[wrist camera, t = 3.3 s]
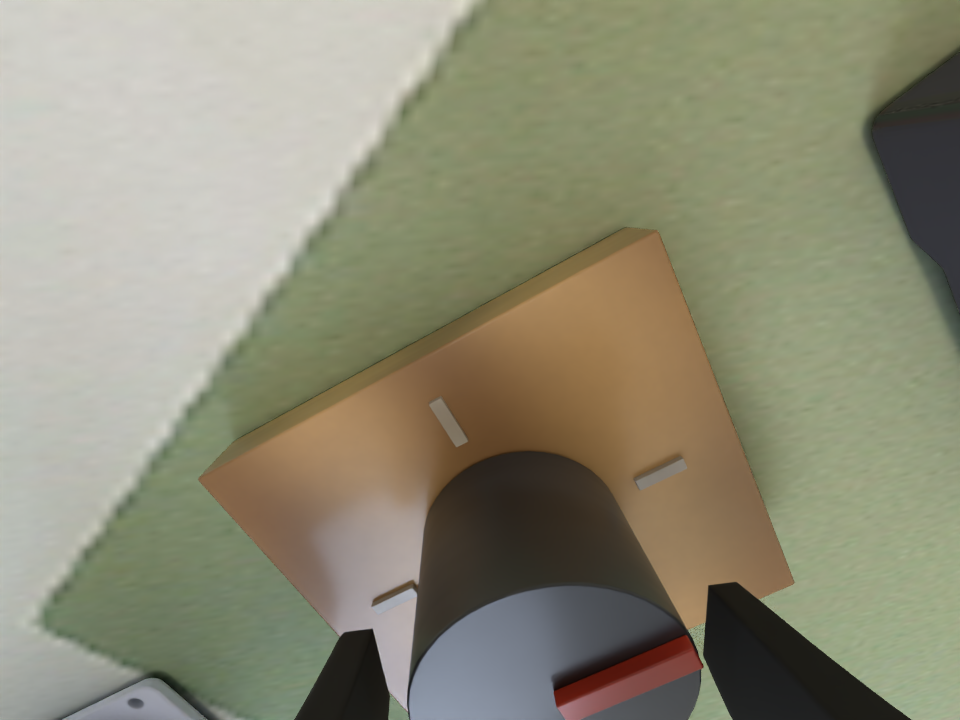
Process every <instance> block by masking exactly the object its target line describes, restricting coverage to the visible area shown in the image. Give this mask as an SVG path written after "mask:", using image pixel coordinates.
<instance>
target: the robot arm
mask: <svg viewBox="0 0 960 720" xmlns="http://www.w3.org/2000/svg"><path fill="white" fill-rule="evenodd" d="M703 656H704V658H705V660H706V663H707V665H708V667H709V670H710V672H711V674H712V676H713V679H714V681H715V683H716V686H717V688H718V690H719V692H720V694H721V696H722V699H723V701H724V703H725V705H726V707H727V709H728V712H729V713H730V715H731V717H732V719H733V720H911V719H910V718H908V717H907V716H906V715H904V714H903V713H902V712H900V711H899V710H897V709H896V708H895V707H893V706H892V705H891V704H889V703H888V702H887V701H885V700H884V699H883V698H881V697H880V696H879V695H877V694H876V693H875V692H873V691H872V690H871V689H869V688H868V687H867V686H866V685H864V684H863V683H862V682H860V681H859V680H858V679H857V678H855V677H854V676H853V675H851V674H850V673H849V672H848V671H846V670H845V669H844V668H842V667H841V666H840V665H839V664H837V663H836V662H835V661H833V660H832V659H831V658H830V657H828V656H827V655H826V654H825V653H823V652H822V651H821V650H820V649H818V648H817V647H816V646H815V645H813V644H812V643H811V642H810V641H808V640H807V639H806V638H805V637H803V636H802V635H801V634H800V633H799V632H797V631H796V630H795V629H794V628H792V627H791V626H790V625H789V624H788V623H786V622H785V621H784V620H783V619H781V618H780V617H779V616H778V615H777V614H775V613H774V612H773V611H772V610H770V609H769V608H768V607H767V606H766V605H764V604H763V603H762V602H761V601H760V600H758V599H757V598H756V597H755V596H753V595H752V594H751V593H750V592H749V591H747V590H746V589H745V588H744V587H742V586H741V585H740V584H739V583H737V582H730V583H722V584H714V585H708V596H707V609H706V623H705V637H704V651H703ZM389 700H390V695H389V691H388V687H387V683H386V679H385V675H384V671H383V667H382V663H381V659H380V655H379V651H378V647H377V643H376V639H375V635H374V631H373V628H372V629H365V630H357V631H349V632H344V633H343V634H342V635H341V636H340V638H339V640H338V642H337V644H336V645H335V647H334V649H333V651H332V653H331V655H330V657H329V659H328V660H327V662H326V664H325V666H324V668H323V670H322V672H321V673H320V675H319V677H318V679H317V681H316V683H315V684H314V686H313V688H312V690H311V691H310V693H309V695H308V697H307V699H306V700H305V702H304V704H303V706H302V707H301V709H300V711H299V713H298V714H297V716H296V718H295V719H294V720H388V715H389ZM62 720H207V719H206V718H205V717H204V716H203V715H202V714H200V713H199V712H198V711H197V710H196V709H195V708H194V707H192V706H191V705H190V704H189V703H188V702H187V701H186V700H184V699H183V698H182V697H181V696H180V695H179V694H178V693H176V692H175V691H174V690H173V689H172V688H171V687H169V686H168V685H167V684H166V683H165V682H164V681H162V680H160V679H157V678H148V679H144V680H142V681H140V682H138V683H136V684H134V685H132V686H130V687H128V688H126V689H123V690H121V691H119V692H117V693H115V694H113V695H111V696H109V697H107V698H105V699H103V700H101V701H99V702H97V703H95V704H93V705H91V706H89V707H87V708H85V709H82V710H80V711H78V712H76V713H74V714H72V715H70V716H68V717H66V718H64V719H62Z"/></svg>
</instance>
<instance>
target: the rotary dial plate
mask: <svg viewBox="0 0 960 720" xmlns="http://www.w3.org/2000/svg"><path fill="white" fill-rule="evenodd" d="M524 451H534V452H546V453H551V454H556V455H560V456H563V457H566V458H569V459H571V460H573V461H576V462H578V463H580V464H582V465H583V466H585V467H587V468H588V469H590V470H591V471H592V472H594V473H595V474H596V475H597V476H598V477H599V478H601V480H602V481H603V482H604V483H605V484H606V485H607V486H608V488H609V490H610V491H611V493H612V494H613V496H614V498H615V499H616V501H617V503H618V505H619V507H620V509H621V510H622V512H623V514H624V516H625V518H626V519H627V521H628V523H629V525H630V527H631V528H632V530H633V532H634V534H635V536H636V537H637V539H638V541H639V543H640V545H641V547H642V548H643V550H644V552H645V554H646V556H647V557H648V559H649V561H650V563H651V565H652V566H653V568H654V570H655V572H656V574H657V575H658V577H659V579H660V581H661V583H662V585H663V586H664V588H665V590H666V592H667V594H668V595H669V597H670V599H671V601H672V603H673V604H674V606H675V608H676V610H677V612H678V613H679V615H680V617H681V619H682V621H683V623H684V624H685V626H686V628H687V630H689V629H691V628H693V627H695V626H698V625H700V624H702V623H705V622H706V609H707V596H708V585H714V584H722V583H730V582H737V583H739V584H740V585H741V586H742V587H744V588H745V589H746V590H747V591H749V592H750V593H751V594H752V595H753V596H755V597H756V598H757V599H761V598H763V597H765V596H768V595H770V594H772V593H775V592H777V591H779V590H781V589H784V588H786V587H788V586H791V585H793V584H794V583H795V582H794V580H793V577H792V575H791V572H790V569H789V567H788V564H787V562H786V559H785V556H784V554H783V551H782V549H781V546H780V544H779V541H778V538H777V536H776V533H775V531H774V528H773V525H772V523H771V520H770V518H769V515H768V513H767V510H766V507H765V505H764V502H763V500H762V497H761V495H760V492H759V489H758V487H757V484H756V482H755V479H754V476H753V474H752V471H751V469H750V466H749V464H748V461H747V458H746V456H745V453H744V451H743V448H742V446H741V443H740V440H739V438H738V435H737V433H736V430H735V427H734V425H733V422H732V420H731V417H730V415H729V412H728V409H727V407H726V404H725V402H724V399H723V397H722V394H721V391H720V389H719V386H718V384H717V381H716V378H715V376H714V373H713V371H712V368H711V366H710V363H709V360H708V358H707V355H706V353H705V350H704V348H703V345H702V342H701V340H700V337H699V335H698V332H697V329H696V327H695V324H694V322H693V319H692V317H691V314H690V311H689V309H688V306H687V304H686V301H685V299H684V296H683V293H682V291H681V288H680V286H679V283H678V280H677V278H676V275H675V273H674V270H673V268H672V265H671V262H670V260H669V257H668V255H667V252H666V250H665V247H664V244H663V242H662V239H661V237H660V234H659V232H658V231H657V230H650V229H640V228H629V227H626V228H623V229H622V230H620V231H618V232H616V233H614V234H612V235H611V236H609V237H607V238H605V239H603V240H601V241H600V242H598V243H596V244H594V245H592V246H591V247H589V248H587V249H585V250H583V251H581V252H580V253H578V254H576V255H574V256H572V257H570V258H569V259H567V260H565V261H563V262H561V263H559V264H558V265H556V266H554V267H552V268H550V269H548V270H547V271H545V272H543V273H541V274H539V275H537V276H536V277H534V278H532V279H530V280H528V281H526V282H525V283H523V284H521V285H519V286H517V287H515V288H514V289H512V290H510V291H508V292H506V293H504V294H503V295H501V296H499V297H497V298H495V299H493V300H492V301H490V302H488V303H486V304H484V305H483V306H481V307H479V308H477V309H475V310H473V311H472V312H470V313H468V314H466V315H464V316H462V317H461V318H459V319H457V320H455V321H453V322H451V323H450V324H448V325H446V326H444V327H442V328H440V329H439V330H437V331H435V332H433V333H431V334H429V335H428V336H426V337H424V338H422V339H420V340H418V341H417V342H415V343H413V344H411V345H409V346H407V347H406V348H404V349H402V350H400V351H398V352H396V353H395V354H393V355H391V356H389V357H387V358H385V359H384V360H382V361H380V362H378V363H376V364H374V365H373V366H371V367H369V368H367V369H365V370H364V371H362V372H360V373H358V374H356V375H354V376H353V377H351V378H349V379H347V380H345V381H343V382H342V383H340V384H338V385H336V386H334V387H332V388H331V389H329V390H327V391H325V392H323V393H321V394H320V395H318V396H316V397H314V398H312V399H310V400H309V401H307V402H305V403H303V404H301V405H299V406H298V407H296V408H294V409H292V410H290V411H288V412H287V413H285V414H283V415H281V416H279V417H277V418H276V419H274V420H272V421H270V422H268V423H266V424H265V425H263V426H261V427H259V428H257V429H256V430H254V431H252V432H250V433H248V434H246V435H245V436H243V437H241V438H239V439H237V440H235V441H234V442H233V443H232V444H231V445H230V446H229V447H228V448H227V449H226V450H225V451H224V452H223V453H222V454H221V455H220V456H219V457H218V458H217V459H216V460H215V461H214V462H213V463H212V464H211V465H210V466H209V467H208V468H207V469H206V471H205V472H204V473H203V474H202V475H201V476H200V477H199V478H198V480H199V482H200V483H201V484H202V485H203V486H204V487H205V488H206V489H207V490H208V492H209V493H210V494H211V495H212V496H213V497H214V498H215V499H216V500H217V502H218V503H219V504H220V505H221V506H222V507H223V508H224V509H225V510H226V511H227V513H228V514H229V515H230V516H231V517H232V518H233V519H234V520H235V521H236V523H237V524H238V525H239V526H240V527H241V528H242V529H243V530H244V531H245V533H246V534H247V535H248V536H249V537H250V538H251V539H252V540H253V541H254V543H255V544H256V545H257V546H258V547H259V548H260V549H261V550H262V551H263V553H264V554H265V555H266V556H267V557H268V558H269V559H270V560H271V561H272V563H273V564H274V565H275V566H276V567H277V568H278V569H279V570H280V571H281V573H282V574H283V575H284V576H285V577H286V578H287V579H288V580H289V581H290V583H291V584H292V585H293V586H294V587H295V588H296V589H297V590H298V591H299V593H300V594H301V595H302V596H303V597H304V598H305V599H306V600H307V601H308V603H309V604H310V605H311V606H312V607H313V608H314V609H315V610H316V611H317V613H318V614H319V615H320V616H321V617H322V618H323V619H324V620H325V621H326V623H327V624H328V625H329V626H330V627H331V628H332V629H333V630H334V631H335V633H336V634H337V635H338V636H339V637H340V636H341V635H342V634H343V633H344V632H349V631H357V630H365V629H372V628H373V631H374V635H375V639H376V643H377V647H378V651H379V655H380V659H381V663H382V667H383V671H384V675H385V679H386V683H387V687H388V691H389V692H390V694H391V695H392V696H393V697H394V698H395V699H396V700H397V701H398V702H399V704H400V705H401V706H402V707H403V708H404V709H405V710H406V711H407V712H408V708H407V691H408V680H409V670H410V661H411V651H412V641H413V631H414V621H415V611H416V601H417V591H418V582H419V572H420V562H421V552H422V542H423V532H424V526H425V522H426V518H427V516H428V513H429V510H430V508H431V506H432V504H433V503H434V501H435V499H436V498H437V496H438V495H439V494H440V492H441V491H442V490H443V489H444V487H445V486H446V485H447V484H448V483H450V482H451V481H452V480H453V479H454V478H455V477H456V476H458V475H459V474H460V473H462V472H463V471H464V470H466V469H468V468H469V467H471V466H473V465H475V464H477V463H479V462H481V461H483V460H486V459H488V458H491V457H495V456H498V455H501V454H507V453H513V452H524Z"/></svg>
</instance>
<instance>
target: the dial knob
mask: <svg viewBox="0 0 960 720" xmlns="http://www.w3.org/2000/svg"><path fill="white" fill-rule="evenodd" d="M702 668H703V664H702V662H701V660H700V658H699V655H698V651H697V648H696V646H695V644H694V641H693V639H692V637H691V635H690V633H689V632H688V630H687V628H686V626H685V624H684V623H683V621H682V619H681V617H680V615H679V613H678V612H677V610H676V608H675V606H674V604H673V603H672V601H671V599H670V597H669V595H668V594H667V592H666V590H665V588H664V586H663V585H662V583H661V581H660V579H659V577H658V575H657V574H656V572H655V570H654V568H653V566H652V565H651V563H650V561H649V559H648V557H647V556H646V554H645V552H644V550H643V548H642V547H641V545H640V543H639V541H638V539H637V537H636V536H635V534H634V532H633V530H632V528H631V527H630V525H629V523H628V521H627V519H626V518H625V516H624V514H623V512H622V510H621V509H620V507H619V505H618V503H617V501H616V499H615V498H614V496H613V494H612V493H611V491H610V490H609V488H608V486H607V485H606V484H605V483H604V482H603V481H602V480H601V478H599V477H598V476H597V475H596V474H595V473H594V472H592V471H591V470H590V469H588V468H587V467H585V466H583V465H582V464H580V463H578V462H576V461H573V460H571V459H569V458H566V457H563V456H560V455H556V454H551V453H546V452H534V451H524V452H513V453H507V454H501V455H498V456H495V457H491V458H488V459H486V460H483V461H481V462H479V463H477V464H475V465H473V466H471V467H469V468H468V469H466V470H464V471H463V472H462V473H460V474H459V475H458V476H456V477H455V478H454V479H453V480H452V481H451V482H450V483H448V484H447V485H446V486H445V487H444V489H443V490H442V491H441V492H440V494H439V495H438V496H437V498H436V499H435V501H434V503H433V504H432V506H431V508H430V510H429V513H428V516H427V518H426V522H425V526H424V532H423V542H422V552H421V562H420V572H419V582H418V591H417V601H416V611H415V621H414V631H413V641H412V651H411V661H410V670H409V680H408V691H407V708H408V715H409V719H410V720H688V719H689V717H690V715H691V713H692V711H693V709H694V707H695V704H696V701H697V698H698V695H699V690H700V684H701V669H702Z"/></svg>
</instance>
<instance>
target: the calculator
mask: <svg viewBox="0 0 960 720" xmlns="http://www.w3.org/2000/svg"><path fill="white" fill-rule="evenodd" d="M872 136H873V139H874V142H875V145H876V148H877V151H878V153H879V156H880V158H881V161H882V164H883V166H884V169H885V172H886V174H887V177H888V179H889V182H890V185H891V187H892V190H893V193H894V195H895V198H896V200H897V203H898V206H899V208H900V211H901V213H902V216H903V219H904V221H905V224H906V227H907V229H908V232H909V234H910V237H911V239H912V240H913V241H914V242H915V243H916V244H917V245H918V246H919V247H920V248H922V249H923V250H924V251H925V252H926V253H927V254H928V255H929V256H930V257H931V258H932V259H933V260H934V261H936V262H937V263H938V264H939V265H940V266H941V267H942V268H943V270H944V273H945V275H946V278H947V280H948V283H949V286H950V289H951V291H952V294H953V297H954V300H955V302H956V305H957V308H958V311H959V313H960V52H959V53H957V54H956V55H955V56H953V57H952V58H951V59H949V60H948V61H947V62H945V63H944V64H943V65H941V66H940V67H939V68H937V69H936V70H935V71H933V72H932V73H931V74H930V75H928V76H927V77H926V78H924V79H923V80H922V81H920V82H919V83H918V84H916V85H915V86H914V87H912V88H911V89H910V90H908V91H907V92H906V93H904V94H903V95H902V96H900V97H899V98H898V99H896V100H895V101H894V102H892V103H891V104H890V105H889V106H887V107H886V108H885V109H884V110H883V111H881V112H880V114H879V115H878V116H877V117H876V119H875V121H874V123H873V126H872Z"/></svg>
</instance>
